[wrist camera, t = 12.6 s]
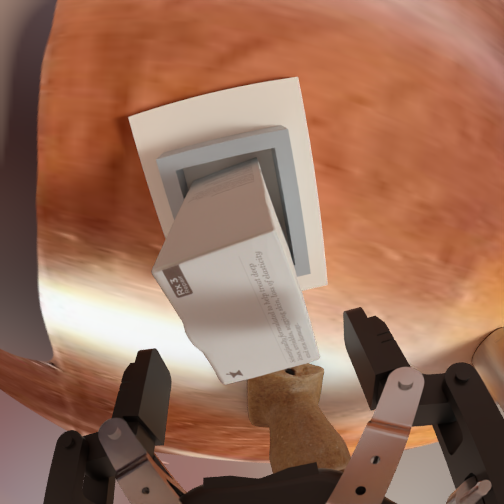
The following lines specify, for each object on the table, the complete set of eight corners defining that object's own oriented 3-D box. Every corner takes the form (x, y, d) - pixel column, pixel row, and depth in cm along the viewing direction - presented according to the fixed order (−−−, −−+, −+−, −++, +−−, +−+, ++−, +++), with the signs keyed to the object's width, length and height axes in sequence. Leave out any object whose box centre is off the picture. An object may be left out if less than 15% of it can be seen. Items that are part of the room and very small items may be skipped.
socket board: (325, 279, 33) (336, 302, 29) (193, 307, 33) (190, 332, 30) (295, 77, 23) (306, 74, 20) (131, 116, 24) (116, 120, 20)
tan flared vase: (321, 413, 45) (342, 495, 32) (245, 419, 44) (252, 507, 31) (341, 347, 38) (380, 447, 25) (246, 353, 37) (257, 466, 24)
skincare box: (286, 237, 29) (329, 362, 16) (223, 259, 30) (224, 393, 17) (254, 150, 25) (286, 228, 12) (185, 177, 26) (145, 279, 13)
